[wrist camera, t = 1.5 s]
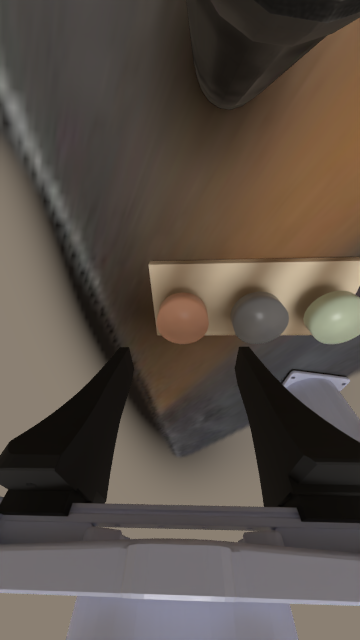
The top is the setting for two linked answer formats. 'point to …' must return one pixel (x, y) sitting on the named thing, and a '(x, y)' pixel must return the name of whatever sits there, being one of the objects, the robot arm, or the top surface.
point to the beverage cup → (257, 41)
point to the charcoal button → (259, 318)
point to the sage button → (334, 317)
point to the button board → (253, 285)
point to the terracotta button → (182, 318)
